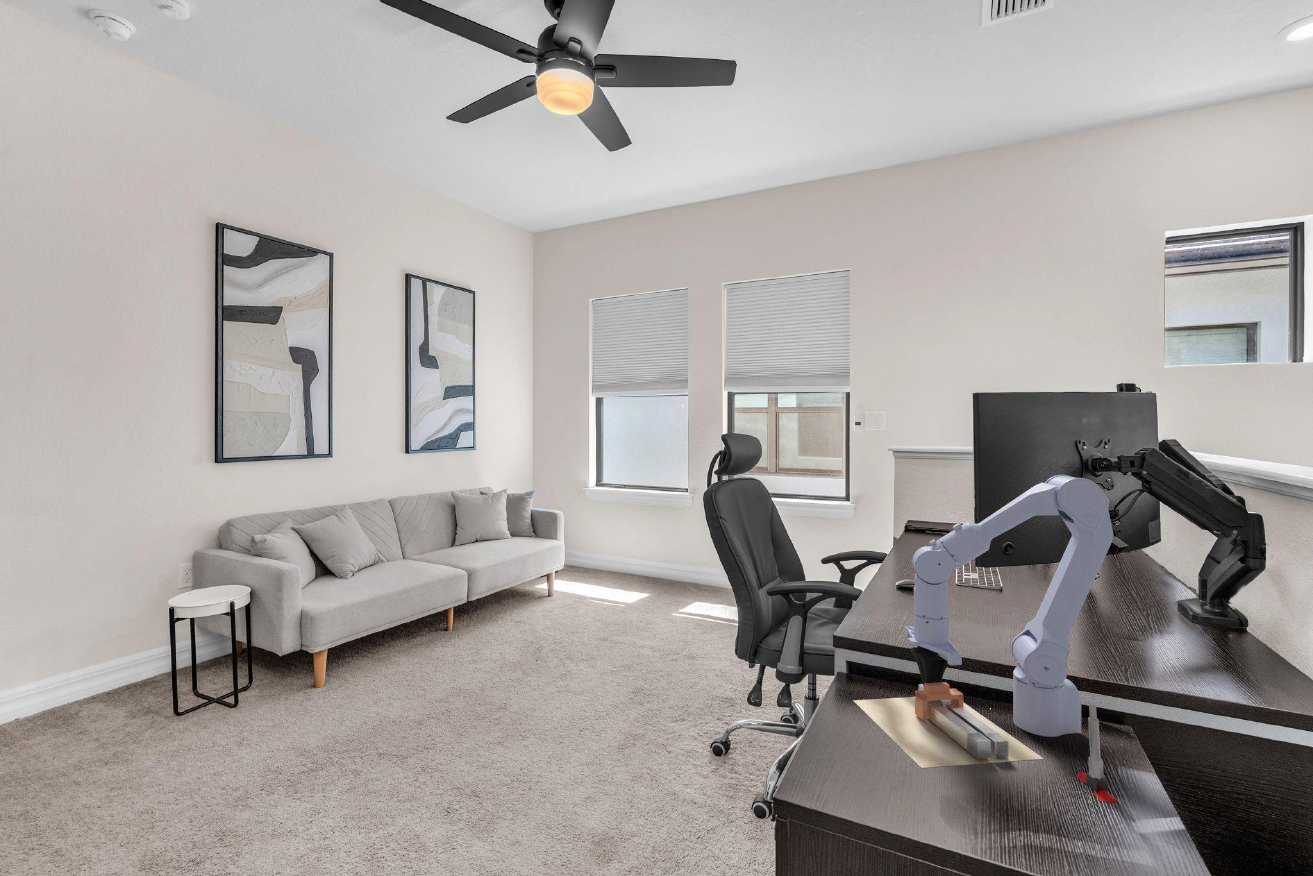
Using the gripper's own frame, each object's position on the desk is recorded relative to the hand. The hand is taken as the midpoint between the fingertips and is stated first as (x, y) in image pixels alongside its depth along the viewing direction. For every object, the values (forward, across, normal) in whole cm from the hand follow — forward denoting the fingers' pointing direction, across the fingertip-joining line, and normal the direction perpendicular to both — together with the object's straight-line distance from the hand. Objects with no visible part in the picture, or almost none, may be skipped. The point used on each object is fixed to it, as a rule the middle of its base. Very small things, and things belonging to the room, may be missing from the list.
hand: (931, 690), depth 105 cm
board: (+5, +5, -2) cm, 7 cm away
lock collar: (+4, +2, 0) cm, 4 cm away
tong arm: (+3, +9, -1) cm, 10 cm away
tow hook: (+5, +24, +6) cm, 25 cm away
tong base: (+4, +6, +1) cm, 7 cm away
